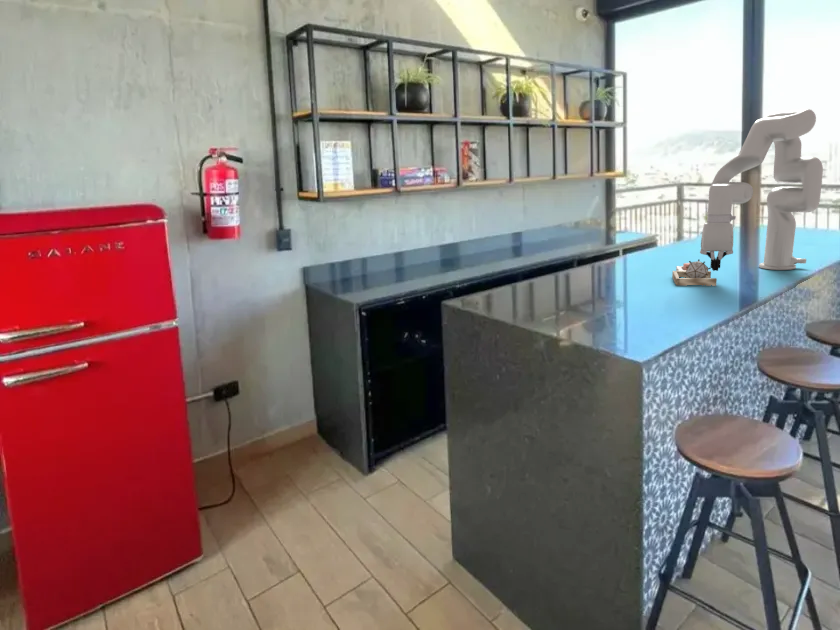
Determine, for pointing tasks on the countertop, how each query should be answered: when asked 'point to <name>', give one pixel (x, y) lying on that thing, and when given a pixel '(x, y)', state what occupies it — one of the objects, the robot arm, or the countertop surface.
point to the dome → (685, 266)
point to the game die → (697, 270)
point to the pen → (693, 279)
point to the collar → (679, 268)
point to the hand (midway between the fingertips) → (715, 269)
